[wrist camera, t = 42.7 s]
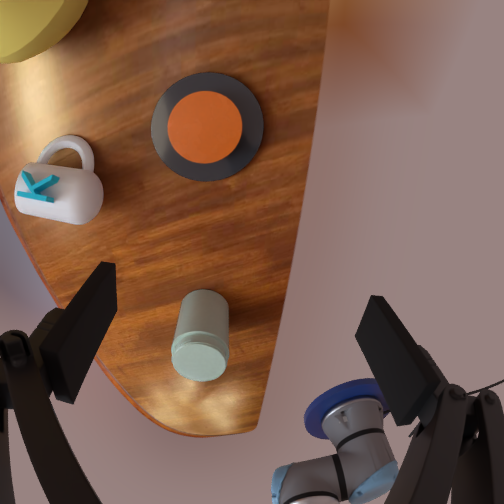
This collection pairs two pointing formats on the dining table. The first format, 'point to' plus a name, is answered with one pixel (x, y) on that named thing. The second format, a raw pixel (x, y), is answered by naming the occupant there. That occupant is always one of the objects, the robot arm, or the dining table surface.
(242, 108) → the mat
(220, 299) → the jar
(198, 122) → the lid
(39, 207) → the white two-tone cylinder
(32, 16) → the vase
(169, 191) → the dining table surface
